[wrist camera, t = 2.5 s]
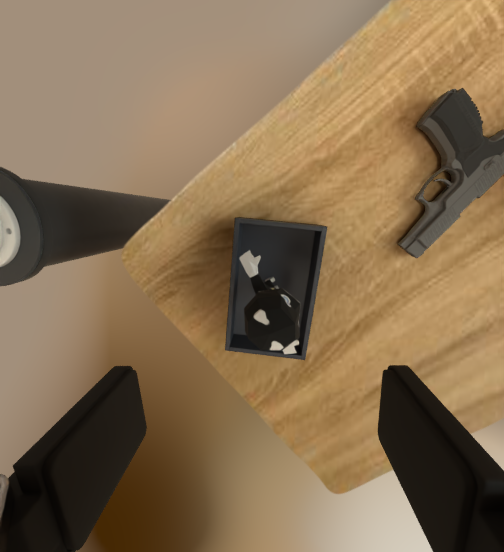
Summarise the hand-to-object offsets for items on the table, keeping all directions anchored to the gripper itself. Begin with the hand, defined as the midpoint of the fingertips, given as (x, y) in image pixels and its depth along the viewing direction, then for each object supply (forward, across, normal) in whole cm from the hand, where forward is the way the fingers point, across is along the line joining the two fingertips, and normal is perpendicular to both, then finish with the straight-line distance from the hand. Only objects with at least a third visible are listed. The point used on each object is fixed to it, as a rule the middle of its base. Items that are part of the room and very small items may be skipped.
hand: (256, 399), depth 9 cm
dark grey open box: (+27, -1, +3) cm, 28 cm away
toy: (+27, -1, +3) cm, 27 cm away
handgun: (+28, -21, -10) cm, 36 cm away
